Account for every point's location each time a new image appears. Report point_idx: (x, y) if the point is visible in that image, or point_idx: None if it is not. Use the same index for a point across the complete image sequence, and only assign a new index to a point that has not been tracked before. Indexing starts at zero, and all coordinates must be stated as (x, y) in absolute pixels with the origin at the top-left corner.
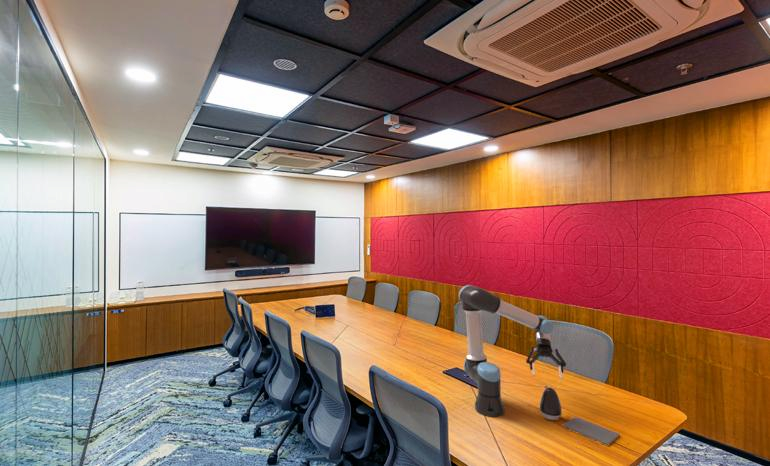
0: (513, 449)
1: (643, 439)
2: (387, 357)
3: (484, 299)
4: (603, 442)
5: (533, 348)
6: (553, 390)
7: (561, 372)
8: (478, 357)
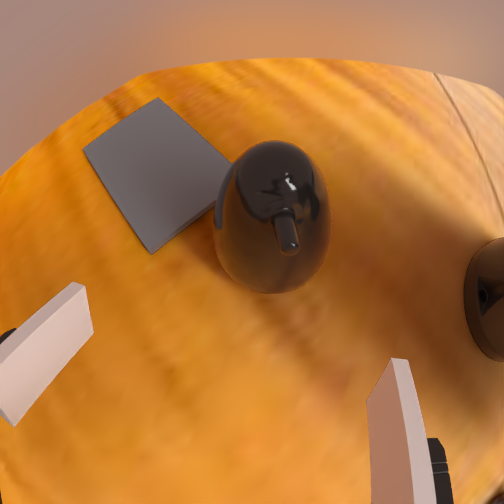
0: (422, 91)
1: (44, 152)
2: None
3: None
4: (163, 102)
5: None
6: (257, 144)
7: (35, 314)
8: None
